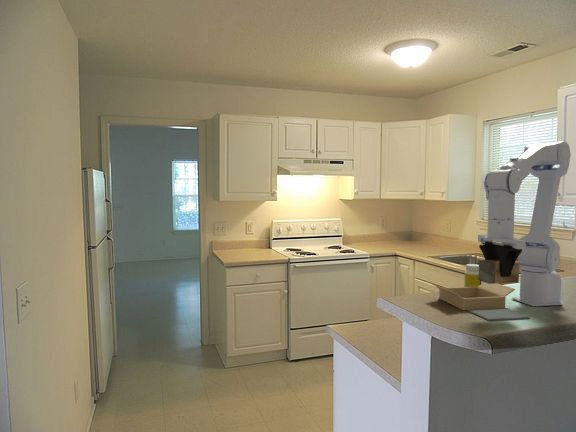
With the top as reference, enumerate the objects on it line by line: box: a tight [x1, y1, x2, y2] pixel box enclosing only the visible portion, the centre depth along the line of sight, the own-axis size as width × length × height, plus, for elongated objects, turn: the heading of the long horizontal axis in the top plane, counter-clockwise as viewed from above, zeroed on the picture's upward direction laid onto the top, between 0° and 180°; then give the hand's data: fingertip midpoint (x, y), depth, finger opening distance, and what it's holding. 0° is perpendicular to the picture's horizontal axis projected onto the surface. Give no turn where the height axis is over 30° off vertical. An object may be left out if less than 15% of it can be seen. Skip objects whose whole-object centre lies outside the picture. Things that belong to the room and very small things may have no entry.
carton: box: [430, 282, 516, 311], centre depth 112 cm, size 18×12×5 cm, turn 100°
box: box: [478, 259, 520, 284], centre depth 101 cm, size 8×4×5 cm, turn 100°
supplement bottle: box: [463, 263, 482, 287], centre depth 124 cm, size 5×5×8 cm
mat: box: [467, 307, 531, 322], centre depth 101 cm, size 11×8×1 cm
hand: (498, 274), depth 101 cm, fingers closed on box, 4 cm apart
